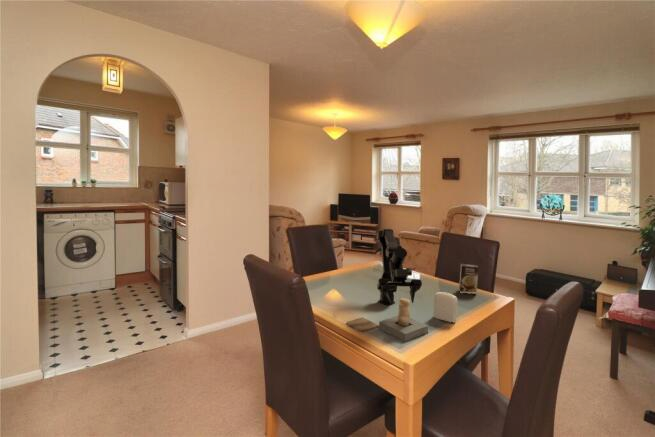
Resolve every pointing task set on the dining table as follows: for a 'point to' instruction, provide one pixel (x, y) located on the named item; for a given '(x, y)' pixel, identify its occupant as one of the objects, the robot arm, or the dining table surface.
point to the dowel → (404, 312)
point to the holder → (403, 328)
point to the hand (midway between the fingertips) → (402, 302)
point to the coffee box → (468, 278)
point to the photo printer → (445, 306)
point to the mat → (362, 324)
